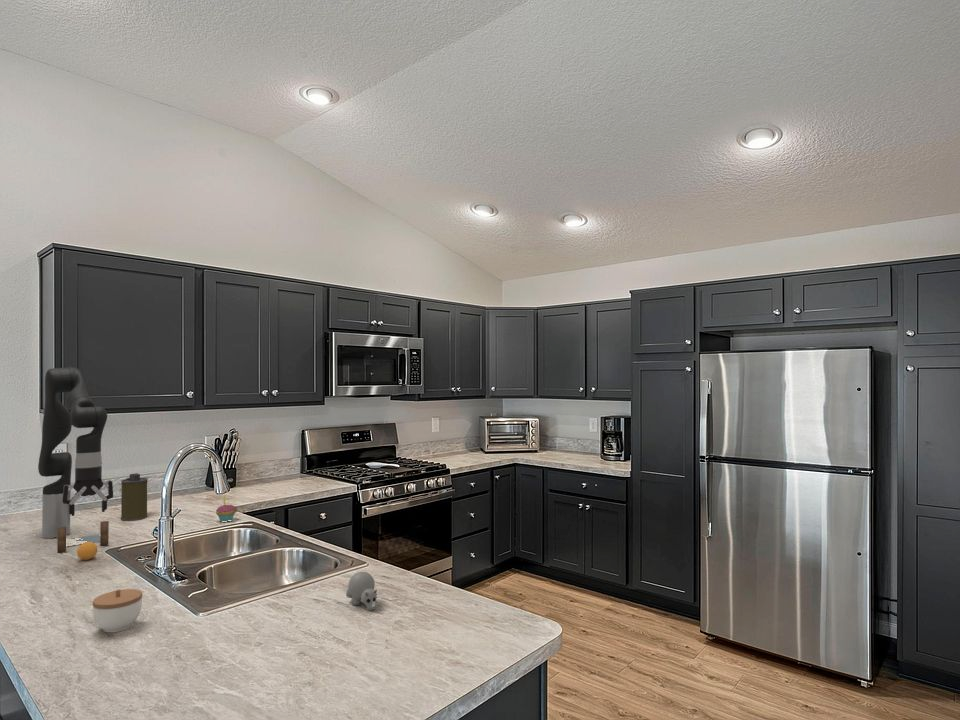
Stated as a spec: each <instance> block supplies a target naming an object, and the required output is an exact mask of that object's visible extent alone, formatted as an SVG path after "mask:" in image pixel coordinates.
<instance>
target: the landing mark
mask: <svg viewBox="0 0 960 720" xmlns="http://www.w3.org/2000/svg"><path fill="white" fill-rule="evenodd" d="M75 538H81V539H83V540H81V539H79V540H76V541H87V542H93V543H95V542H98V543H100V533H99V534H91V535H86V536H78V537H77V536H76V537H71V539H75ZM95 544H96V543H95Z"/></svg>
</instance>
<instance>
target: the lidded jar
mask: <svg viewBox="0 0 960 720" xmlns="http://www.w3.org/2000/svg"><path fill="white" fill-rule="evenodd" d="M142 597H143V591H142V590H140V589H134V588H132V589H131V588H126V589H116V590H113V591H108V592H106V593H103V594H100V595H98V596H96V597H95V598H94V599H93V600H92V613H93V621H94V622H95V624H96V625H97V627H99V629H102V631H103V632H104V633H107V634H109V633H111V634H113V633H118V632H123V631H124V630H127V629H129V628H131V627H132V624H133V623H135V621H136V620H137V619H138V617H139V616H140V613H141V609H142V601H143V600H142V599H143V598H142Z"/></svg>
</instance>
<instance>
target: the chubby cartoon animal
mask: <svg viewBox="0 0 960 720" xmlns="http://www.w3.org/2000/svg"><path fill="white" fill-rule="evenodd" d="M347 585H348V586H347V589H346V592H345V596H346V597H347V598H350V599H351V600H350V604H351V605H352V606H354V607H355V606H359V605H360V604H361V602H362V604H364V605H365V607H366V608H367V610H368V611H371V612H372V611H374V610H376V608H377V607H378V605H377V603H378V602H377V597H378V595H377V594H378V593H377V592H378V589H377V588H375V586H376V583H375V579H374V577H373V576H372V574H370V573H369V572H367V571H359V572H356V573H354V574H353V575H352V576H351V577H350V578H349V581H348V584H347Z"/></svg>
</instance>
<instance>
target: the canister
mask: <svg viewBox="0 0 960 720" xmlns="http://www.w3.org/2000/svg"><path fill="white" fill-rule="evenodd" d="M120 482H121V494H120V495H121V496H120V497H121V503H120V504H121V507H120V508H121V515H120V516H121V517H120V520H121V521H122V522H131V521H132V522H134V521H141V520H145V519H147V518H148V477H147V478H146V477H141V473H136V472H134V473H130V474H129V477H127V478H125V479H122V480H121V481H120Z"/></svg>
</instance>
